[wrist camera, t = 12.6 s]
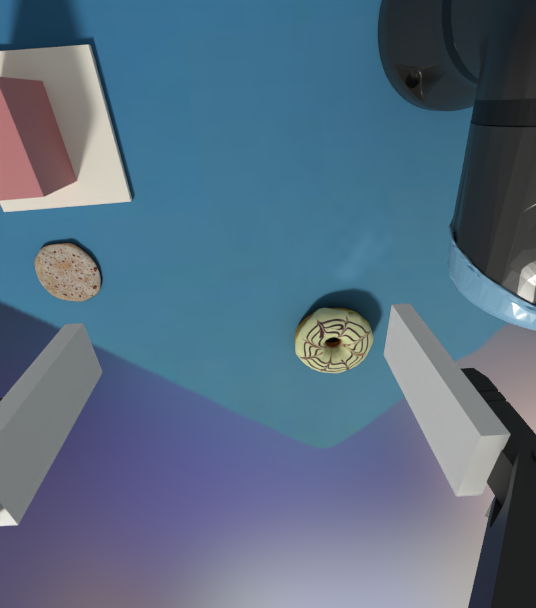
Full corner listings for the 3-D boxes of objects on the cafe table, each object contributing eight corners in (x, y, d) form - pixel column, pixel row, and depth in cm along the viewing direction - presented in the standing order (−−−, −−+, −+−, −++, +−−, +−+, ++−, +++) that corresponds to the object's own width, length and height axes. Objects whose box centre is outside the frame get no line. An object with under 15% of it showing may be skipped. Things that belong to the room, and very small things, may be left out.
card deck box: (77, 181, 37) (43, 196, 31) (39, 184, 36) (-2, 200, 30) (42, 81, 32) (-5, 76, 26) (-1, 84, 32) (-58, 80, 26)
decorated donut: (308, 293, 46) (313, 307, 43) (379, 311, 48) (388, 326, 45) (284, 352, 51) (286, 369, 48) (349, 366, 53) (355, 383, 50)
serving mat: (91, 45, 31) (88, 44, 31) (132, 200, 38) (130, 201, 38) (-64, 57, 31) (-69, 56, 31) (7, 210, 38) (4, 211, 38)
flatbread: (103, 303, 45) (100, 307, 44) (41, 294, 44) (37, 298, 43) (100, 246, 41) (97, 249, 40) (33, 234, 40) (28, 237, 39)
